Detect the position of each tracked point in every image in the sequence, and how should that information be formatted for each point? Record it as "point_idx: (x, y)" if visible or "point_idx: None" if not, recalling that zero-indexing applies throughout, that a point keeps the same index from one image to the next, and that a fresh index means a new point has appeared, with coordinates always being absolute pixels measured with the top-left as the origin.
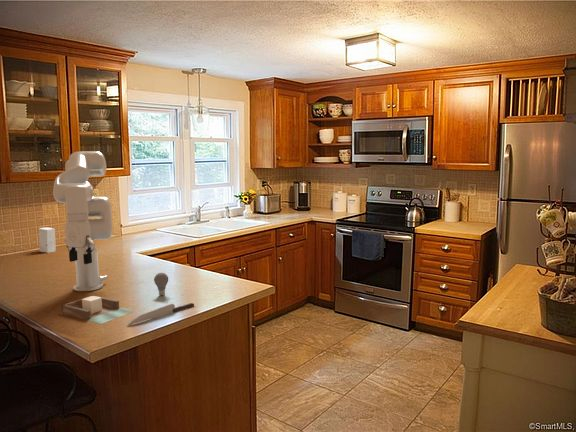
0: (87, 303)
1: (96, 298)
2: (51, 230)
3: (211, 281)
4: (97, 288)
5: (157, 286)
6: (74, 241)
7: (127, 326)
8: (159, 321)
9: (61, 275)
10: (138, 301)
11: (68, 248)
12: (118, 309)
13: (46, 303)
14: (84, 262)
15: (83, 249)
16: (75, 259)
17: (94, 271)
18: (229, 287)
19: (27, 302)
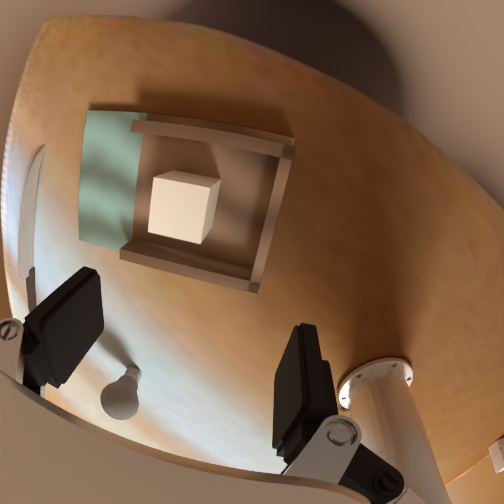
0: (179, 179)
1: (157, 215)
2: (499, 469)
3: (124, 432)
4: (341, 383)
5: (126, 382)
6: (5, 499)
7: (42, 146)
8: (17, 206)
9: (463, 406)
10: (147, 325)
11: (345, 451)
12: (123, 236)
13: (427, 245)
14: (80, 273)
15: (6, 367)
16: (280, 367)
17: (359, 425)
18: (74, 403)
19: (477, 239)
